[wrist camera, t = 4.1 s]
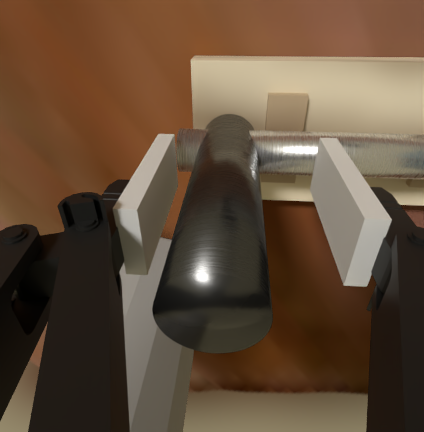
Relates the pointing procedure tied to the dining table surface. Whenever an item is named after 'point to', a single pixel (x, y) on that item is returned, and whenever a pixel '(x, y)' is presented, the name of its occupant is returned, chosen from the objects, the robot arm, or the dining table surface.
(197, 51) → the dining table surface
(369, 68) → the panel
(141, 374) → the water bottle
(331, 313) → the dining table surface
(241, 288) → the metal lever handle
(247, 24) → the dining table surface
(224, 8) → the dining table surface
